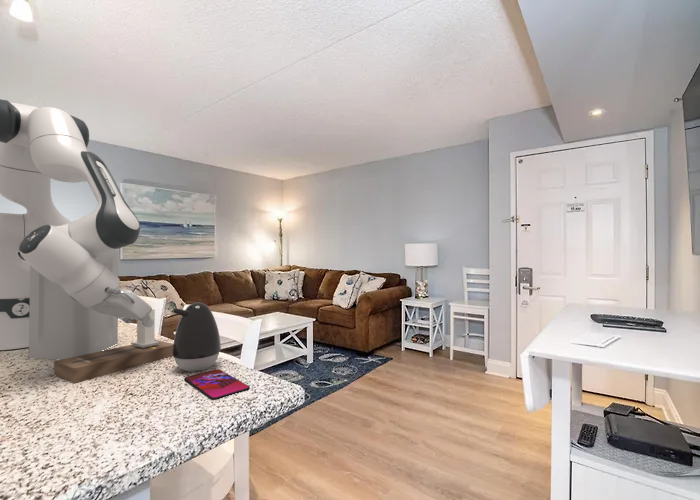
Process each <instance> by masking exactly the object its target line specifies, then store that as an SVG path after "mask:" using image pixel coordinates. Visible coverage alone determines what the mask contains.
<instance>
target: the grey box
mask: <svg viewBox="0 0 700 500" xmlns="http://www.w3.org/2000/svg"><path fill="white" fill-rule="evenodd" d="M96 261H97V262H99V263H101V264H103V265H104V266H105V267H106V268H107V269H109V270H110V271H111V272H112V273H113V274H114V275H115V276H117V277H118V278H119V249H116V250H114V251H112V252H109V253H107V254H105V255H103V256H101V257H98V258H97V259H96ZM118 325H119V318H117V317H115V316H112V315H106V314H101V313H99V312H97V311H95V310H93V309H92V308H90V307H84V306H83V305H82V304H80V303H79V302H78V301H75V300H73V299H72V298H70V297H69V296H68V294H67V293H66V292H65V291H64V290H63V288H62V287H61V286H60V285H58V284H56V283H54V282H51V281H49V280H48V279H47V278H45V277H44V276H43V275H41V274H40V273H39V272H38V271H36V270H35V269H34V268H33V267H32V266H31V265H30V310H29V347H28V358H29V359H30V358H35V360H52V359H58V360H62V359H67V358H71V357H76V356H81V355H85V354H90V353H95V352H99V351H102V350H105V349H107V348H109V347H111V346H113V345H115V344H117V343H118V341H119V340H118V339H119V338H118V335H119V333H118V331H119V330H118V329H119V327H118ZM118 344H119V343H118ZM107 350H108V349H107Z"/></svg>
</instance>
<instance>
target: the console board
mask: <svg viewBox="0 0 700 500" xmlns="http://www.w3.org/2000/svg"><path fill="white" fill-rule="evenodd" d="M154 341H157V342H159V344H158V345H153V346H149V347H145V348H142V347H137V346H133V345H132V344H129V345H123V346H118V347H115V348H114V347H113V348H110V349H107V350H104V351H99V352H95V353H90V354H85V355H81V356H76V357H71V358H67V359H62V360H54V361H53V376H55V377H58V378H61V379H63V380H66V381H68V382H71V383H73V384H76V383H80V382H85V381H88V380H92V379H95V378H99V377H103V376H107V375H109V374H114V373H117V372H118V373H119V372H121V371H126V370H129V369H133V368H137V367H139V366H143V364H144V365H147V364H146V363H148V364H151V363H155V362H158V361H157V360H159V361H161V360H160V359H163V360H165V359H164V358H166V359H169V358H168V357H170V358H173V357H172V356H173V344H174V343H171V342H167V341H162V340H158V339H154ZM154 361H155V362H154ZM150 362H151V363H150Z"/></svg>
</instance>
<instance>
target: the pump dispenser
mask: <svg viewBox="0 0 700 500" xmlns="http://www.w3.org/2000/svg"><path fill="white" fill-rule="evenodd" d="M172 313H174V314H176V315H178V316H181V317H180V319H179V322H178V324H177V327H176V329H175V334H174V338H173V343H172V344H173V357H172V358H174V362H175V364H176V365H177V368H179V369H181V370H183V371H185V372H189V373H191V372H193V373H196V372H200V371H202V372H203V371H205V370H207V369H209V368H211V367H212V366H213V365H214V364H215V363H216V362H217V360H218V358H219V354H220V352H221V350H222V346H221V345H222V343H221V337H220V332H219V328H218V324H217V321H216V319H215V317H214V314H213V312H212V310H211V308H209V306H208V304H205V303H203V302H193V303H191V304H189V305H188V306H187V307H186V308H185V309H181V308H175V307H174V308H173V309H172Z"/></svg>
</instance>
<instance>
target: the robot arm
mask: <svg viewBox="0 0 700 500" xmlns="http://www.w3.org/2000/svg"><path fill="white" fill-rule="evenodd" d="M0 143H1V144H0V195H1V196H2V197H4V198H5V199H7V200H9V201H11V202H13V203H15V204H16V205H20V206H22V207H23V208H24V209H26V213H10V212H7V213H6V212H0V351H7V350H9V351H10V350H16V349H17V350H18V349H25V348H29V310H30V265H31V266H32V267H33V268H34V269H35V270H36V271H38V272H39V273H40V274H41V275H43V276H44V277H45V278H47V279H48V280H49V281H51V282H54V283H56V284H58V285H60V286H61V287H62V288H63V290H64V291H65V292H66V293H67V294H68V296H69V297H70V298H72V299H73V300H75V301H78V302H79V303H80V304H82V305H83V306H84V307H90V308H92V309H93V310H95V311H97V312H99V313H101V314H106V315H112V316H115V317H117V318H118V320H120V321H122V322H124V323H126V324H131V323H132V322H133V321H135V320H136V321H137V320H140V321H141V322H142V324H143V325H144V326H146V327H152V325H153V324H154V321H153V320H152V319H151V318H150V316H149V314H150V312H151V311H152V309H153V307H152V306H151V305H150V304H149V303H148V302H146V300H144V299H143V298H142V297H140V296H139V295H137V293H135V292H133V291H131V290H130V289H126V288H121V287H120V286H119V285H120V282H121V281H120V278H119V276H118V277H117V276H115V275H114V274H113V273H112V272H111V271H110V270H109V269H107V268H106V267H105V266H104V265H103V264H101V263H99V262H97V261H96V259H97V258H98V257H101V256H103V255H105V254H107V253H109V252H112V251H114V250H119V249H121V248H124V247H127V246H131V245H132V244H134V243H135V242H137V240H138V237H139V235H140V232H141V225H140V221H139V218H138V217H137V216H136V214H135V213H134V211H133V210H132V209H131V208H130V207H129V205H128V203H127V202H126V199H125V198H124V196H123V194H122V192H121V190H120V188H119V186H118V184H117V183H116V181H115V179H114V177H113V174H112V173H111V171H110V170H109V168H108V167H107V165H106V163H105V162H104V160H102V159H101V157H100V156H98V155H97V154H95V153H94V152H92V151H88V149H87V148H88V145H89V143H90V131H89V127H88V125H87V124H86V123H85V121H84V120H82V119H80V118H78V117H76V116H73V115H71V114H69V113H68V112H66V111H65V110H62V109H60V108H58V107H54V106H35V105H30V104H25V103H18V102H12V101H9V100H8V99H0ZM51 179H52V180H54V181H57V182H62V183H73V184H74V183H82V182H84V183H85V182H87V183H88V186H89V187H90V190H91V192H92V194H93V195H94V197H95V200H96V201H97V206H96V208H95V209H94V210H93V211H92V212H90V213H88V214H86V215H83V216H82V217H80V218H78V219H76V220H73V221H71V220H70V219H68V218H66V216H64V215H62V214H61V213H60V212H59V211H60V210H58V209H57V208H56V206H55V204H54V202H53V199H52V193H51V192H52V191H51V182H52V181H51ZM19 254H20V255H21V256H19ZM21 257H22V258H23V259H22V258H21Z"/></svg>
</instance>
